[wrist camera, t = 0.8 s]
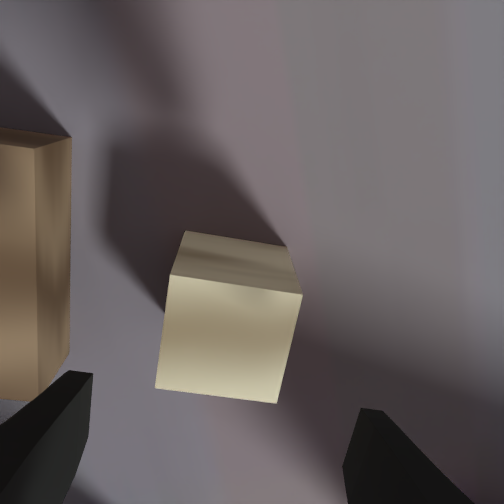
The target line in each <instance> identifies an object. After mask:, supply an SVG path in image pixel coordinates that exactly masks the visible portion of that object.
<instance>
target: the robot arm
mask: <svg viewBox="0 0 504 504" xmlns="http://www.w3.org/2000/svg"><path fill="white" fill-rule="evenodd" d="M92 382H93V373H86V372H78V371H71V370H69V371H67V372H66V373H64V374H63V375H62V376H61V377H60V378H58V379H57V380H56V381H55V382H54V383H53V384H51V385H50V386H49V387H48V388H47V389H45V390H44V391H43V392H42V393H41V394H39V395H38V396H37V397H36V398H35V399H33V400H32V401H31V402H30V403H28V404H27V405H26V406H24V407H23V408H22V409H21V410H19V411H18V412H17V413H16V414H14V415H13V416H12V417H10V418H9V419H8V420H6V421H5V422H4V423H2V424H1V425H0V504H62V502H63V500H64V498H65V496H66V494H67V492H68V489H69V487H70V485H71V483H72V481H73V479H74V476H75V474H76V471H77V468H78V465H79V463H80V460H81V457H82V454H83V451H84V448H85V445H86V442H87V439H88V433H89V420H90V407H91V395H92ZM342 467H343V474H344V480H345V487H346V493H347V499H348V504H474V503H473V502H472V501H471V500H470V499H469V498H468V497H467V496H466V495H465V494H464V493H463V492H462V491H460V490H459V489H458V488H457V487H456V486H455V485H454V484H453V483H452V482H451V481H450V480H449V479H448V478H447V477H446V476H445V475H444V474H443V473H442V472H441V471H440V470H439V469H438V468H437V467H436V466H435V465H434V464H433V463H432V462H431V461H430V460H429V459H428V458H427V457H426V456H425V455H424V454H423V453H422V452H421V450H420V449H419V448H418V447H417V446H416V445H415V444H414V443H413V442H412V441H411V440H410V439H409V438H408V437H407V436H406V435H405V433H404V432H403V431H402V430H401V429H400V428H399V427H398V426H397V425H396V424H395V423H394V422H393V421H392V420H391V419H390V418H389V417H388V416H387V415H386V414H385V413H384V412H383V411H380V410H372V409H364V408H361V409H360V413H359V416H358V419H357V422H356V425H355V428H354V431H353V434H352V438H351V441H350V444H349V447H348V450H347V453H346V456H345V459H344V463H343V466H342Z"/></svg>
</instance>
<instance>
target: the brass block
mask: <svg viewBox="0 0 504 504" xmlns="http://www.w3.org/2000/svg"><path fill="white" fill-rule="evenodd" d="M71 152H72V137H66V136H59V135H52V134H45V133H38V132H31V131H23V130H16V129H9V128H2V127H0V399H9V400H20V401H32V400H33V399H35V398H36V397H37V396H38V395H39V394H41V393H42V392H43V391H44V390H45V389H47V388H48V386H49V385H50V383H51V381H52V380H53V378H54V377H55V375H56V373H57V372H58V370H59V369H60V367H61V365H62V364H63V362H64V360H65V359H66V357H67V356H68V354H69V336H70V244H71Z"/></svg>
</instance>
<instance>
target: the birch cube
mask: <svg viewBox="0 0 504 504" xmlns="http://www.w3.org/2000/svg"><path fill="white" fill-rule="evenodd" d="M302 297H303V294H302V291H301V288H300V285H299V282H298V279H297V276H296V273H295V270H294V267H293V264H292V261H291V258H290V255H289V252H288V249H287V247H284V246H278V245H272V244H266V243H260V242H254V241H247V240H241V239H235V238H229V237H223V236H217V235H210V234H204V233H198V232H192V231H186V230H185V232H184V235H183V238H182V241H181V244H180V247H179V250H178V253H177V256H176V258H175V261H174V264H173V267H172V270H171V273H170V278H169V286H168V293H167V301H166V308H165V316H164V323H163V331H162V338H161V346H160V354H159V361H158V369H157V376H156V384H155V388H158V389H166V390H174V391H182V392H190V393H198V394H206V395H213V396H221V397H229V398H237V399H245V400H253V401H261V402H268V403H276V404H277V400H278V396H279V392H280V387H281V383H282V379H283V375H284V371H285V367H286V363H287V359H288V354H289V350H290V346H291V342H292V338H293V334H294V330H295V326H296V321H297V317H298V313H299V309H300V305H301V301H302Z"/></svg>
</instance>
